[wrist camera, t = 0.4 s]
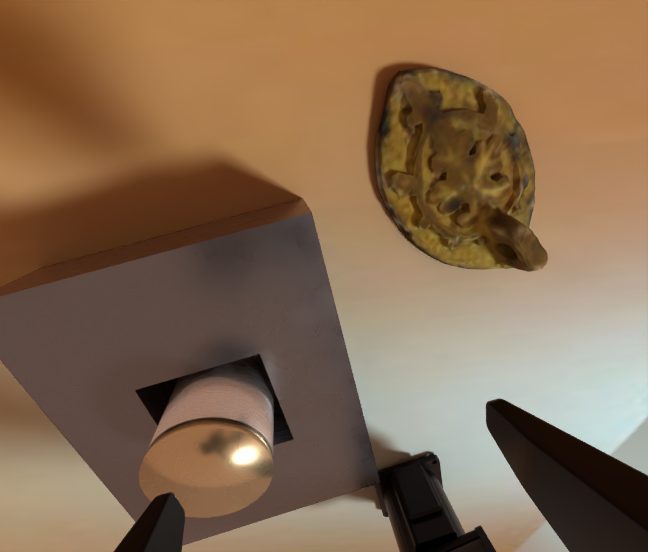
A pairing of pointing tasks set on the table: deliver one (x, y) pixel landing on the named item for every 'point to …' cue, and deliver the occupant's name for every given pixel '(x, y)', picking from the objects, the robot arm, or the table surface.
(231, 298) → the housing
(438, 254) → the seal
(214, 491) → the end cover
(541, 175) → the table surface
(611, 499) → the robot arm
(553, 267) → the table surface
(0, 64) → the table surface
